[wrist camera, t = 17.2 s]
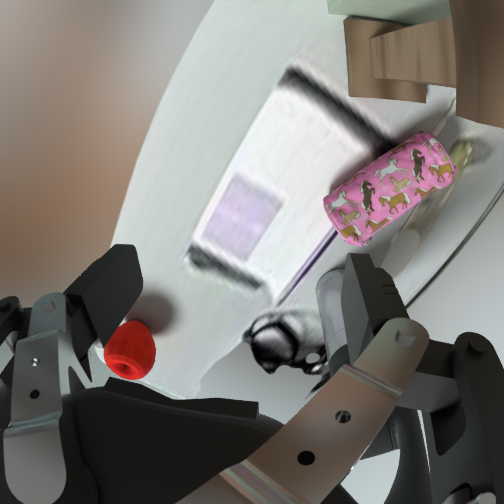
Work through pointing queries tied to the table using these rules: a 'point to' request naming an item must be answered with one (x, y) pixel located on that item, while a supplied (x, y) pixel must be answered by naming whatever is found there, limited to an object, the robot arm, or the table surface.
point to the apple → (130, 351)
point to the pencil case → (388, 188)
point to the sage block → (393, 9)
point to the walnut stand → (433, 59)
